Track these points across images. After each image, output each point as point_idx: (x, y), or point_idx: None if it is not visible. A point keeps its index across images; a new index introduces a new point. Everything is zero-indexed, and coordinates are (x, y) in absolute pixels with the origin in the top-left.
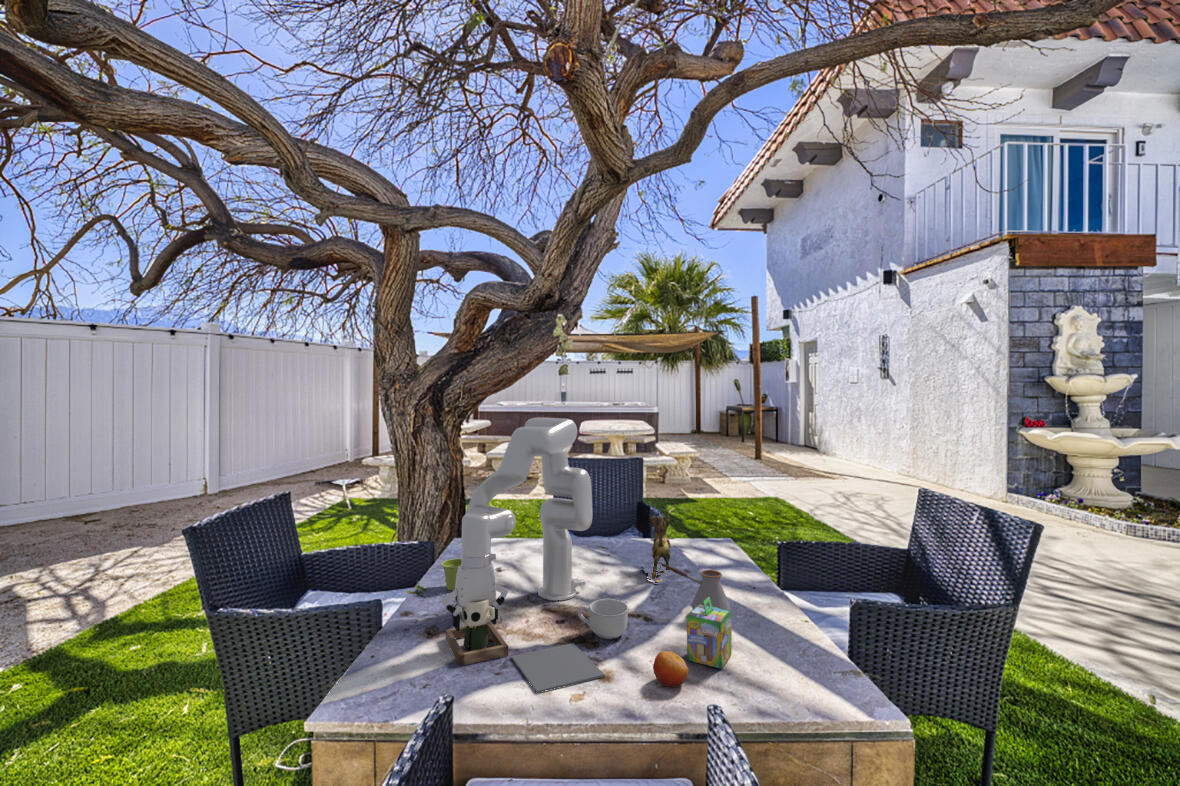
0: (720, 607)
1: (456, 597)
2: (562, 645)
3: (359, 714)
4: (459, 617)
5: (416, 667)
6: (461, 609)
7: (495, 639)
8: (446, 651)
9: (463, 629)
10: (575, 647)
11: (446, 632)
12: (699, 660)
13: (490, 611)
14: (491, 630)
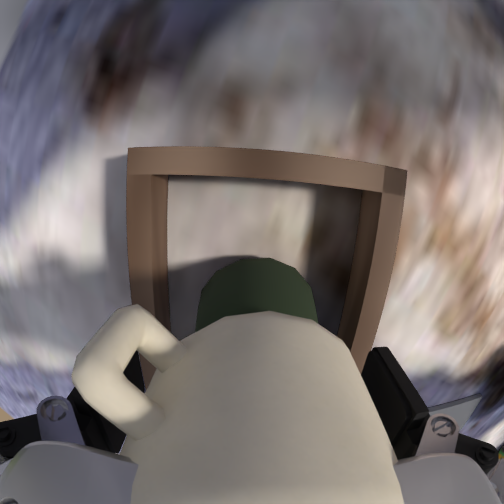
0: None
1: (19, 463)
2: (463, 403)
3: (9, 408)
4: (118, 448)
5: (45, 331)
6: (136, 347)
7: (345, 338)
8: (129, 280)
9: (230, 175)
10: (468, 415)
11: (129, 173)
12: (499, 457)
13: (393, 388)
14: (366, 280)
